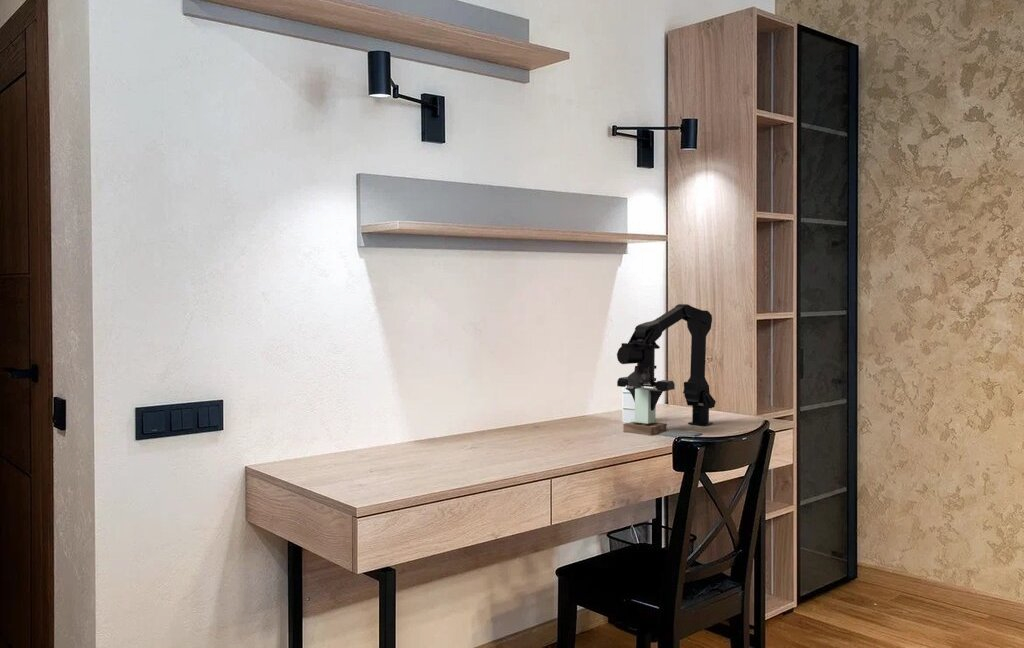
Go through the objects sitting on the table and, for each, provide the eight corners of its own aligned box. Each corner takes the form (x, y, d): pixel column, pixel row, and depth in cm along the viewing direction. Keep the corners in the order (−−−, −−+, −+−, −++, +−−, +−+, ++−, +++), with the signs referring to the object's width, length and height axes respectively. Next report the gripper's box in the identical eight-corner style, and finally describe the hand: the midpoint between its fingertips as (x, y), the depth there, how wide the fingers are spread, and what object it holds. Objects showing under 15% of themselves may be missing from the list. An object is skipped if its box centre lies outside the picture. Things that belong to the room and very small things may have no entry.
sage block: (642, 420, 285) (642, 387, 285) (655, 421, 282) (655, 388, 281) (634, 422, 281) (635, 388, 281) (647, 423, 278) (648, 390, 278)
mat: (673, 430, 283) (673, 429, 283) (701, 434, 277) (701, 432, 277) (659, 435, 275) (659, 433, 275) (687, 438, 269) (687, 437, 269)
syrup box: (636, 424, 295) (637, 382, 295) (621, 422, 299) (622, 381, 298) (644, 422, 300) (644, 381, 299) (629, 420, 303) (630, 380, 303)
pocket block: (639, 427, 289) (639, 420, 289) (666, 431, 283) (666, 423, 283) (623, 431, 281) (623, 424, 281) (651, 435, 274) (651, 427, 274)
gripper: (608, 362, 280) (608, 409, 281) (659, 366, 268) (658, 415, 269) (626, 360, 289) (625, 405, 290) (675, 363, 277) (675, 411, 278)
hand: (645, 409), depth 281 cm, fingers closed on sage block, 5 cm apart
